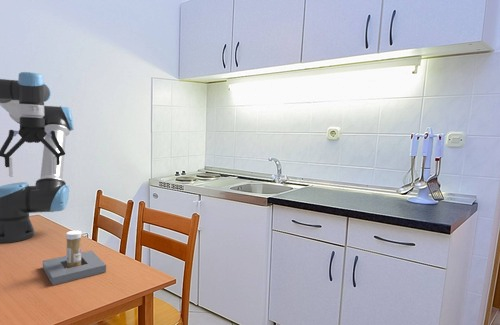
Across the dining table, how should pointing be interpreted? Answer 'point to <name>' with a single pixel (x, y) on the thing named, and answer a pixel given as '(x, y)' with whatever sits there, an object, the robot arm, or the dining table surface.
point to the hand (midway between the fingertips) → (33, 175)
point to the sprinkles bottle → (73, 248)
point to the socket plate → (73, 268)
